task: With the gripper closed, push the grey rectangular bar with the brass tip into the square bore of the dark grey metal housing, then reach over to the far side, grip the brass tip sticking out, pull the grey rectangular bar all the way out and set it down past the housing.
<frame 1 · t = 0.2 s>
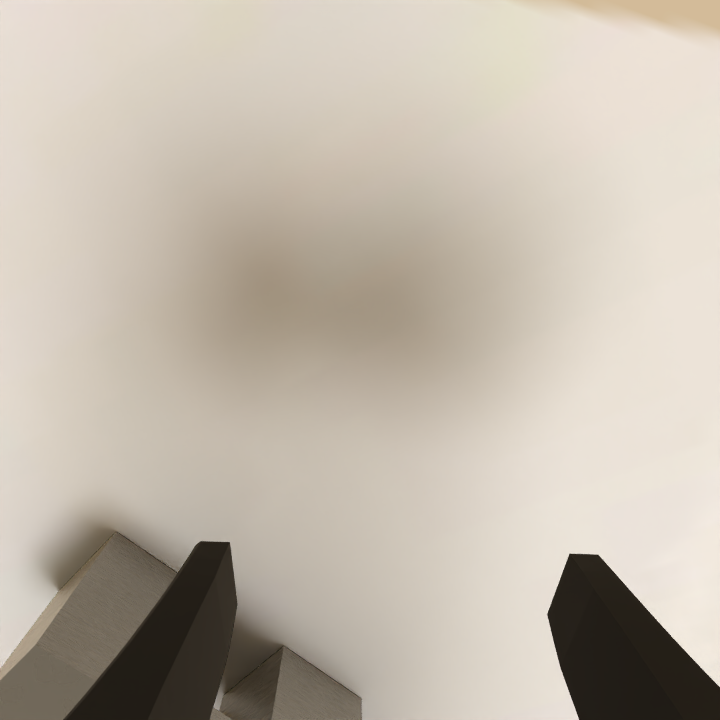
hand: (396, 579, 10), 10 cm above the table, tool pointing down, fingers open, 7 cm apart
housing: (217, 648, 25), on the table
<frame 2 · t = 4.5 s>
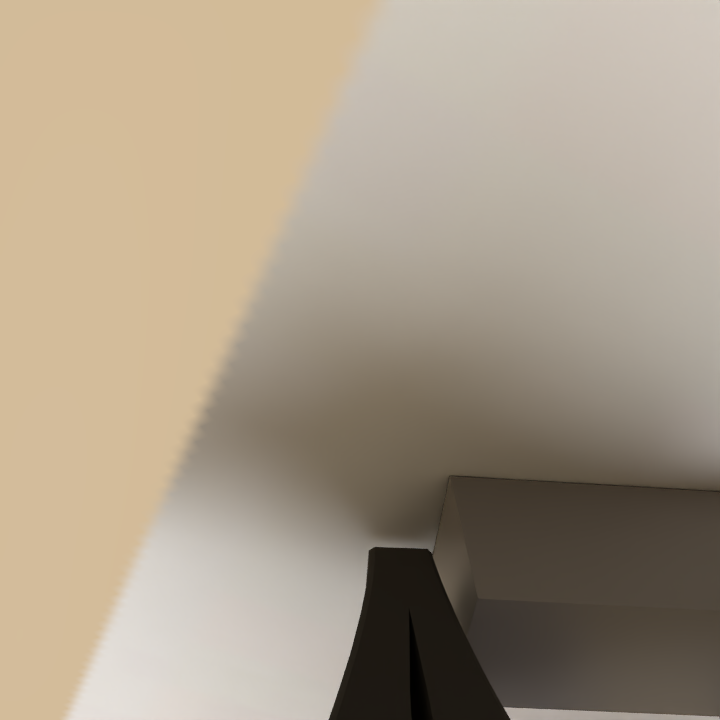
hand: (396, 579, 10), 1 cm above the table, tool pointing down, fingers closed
grey rectangular bar: (661, 541, 12), on the table, touching gripper
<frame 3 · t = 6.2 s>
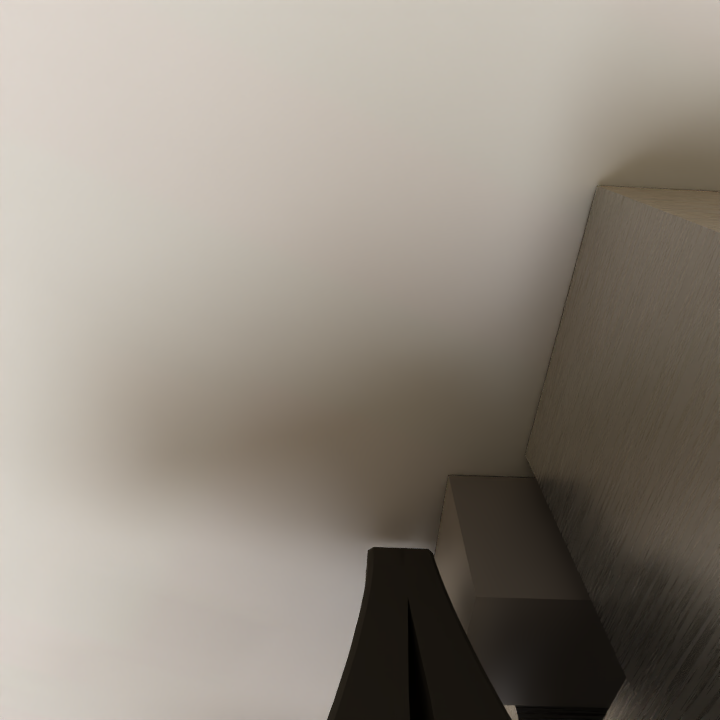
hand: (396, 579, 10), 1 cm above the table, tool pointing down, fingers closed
housing: (606, 535, 12), on the table
grey rectangular bar: (664, 536, 12), on the table, touching gripper
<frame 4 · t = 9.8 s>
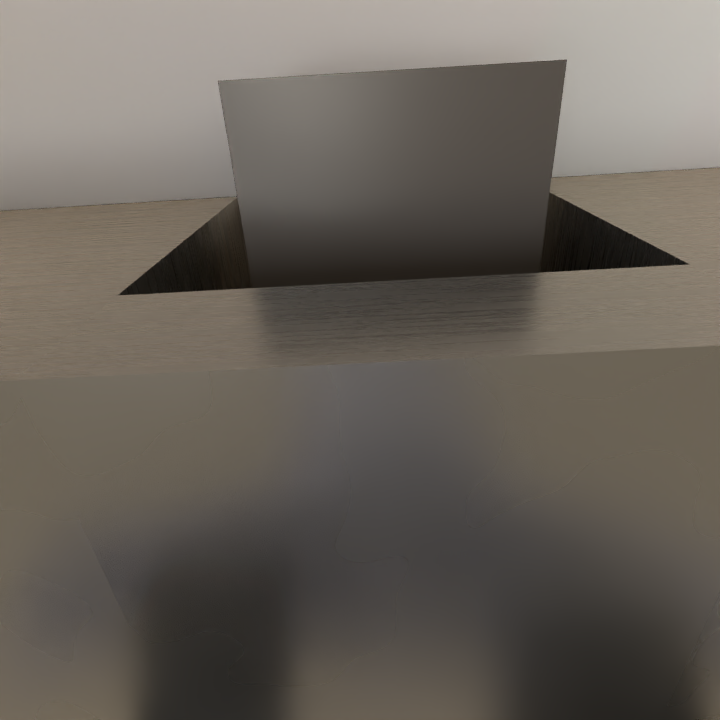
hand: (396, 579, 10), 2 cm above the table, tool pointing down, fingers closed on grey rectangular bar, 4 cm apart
housing: (385, 324, 9), on the table
grey rectangular bar: (388, 386, 10), on the table, touching gripper
when the fingers open (8 cm above the table, at t = 12.5 s): grey rectangular bar drops 3 cm, on the table.
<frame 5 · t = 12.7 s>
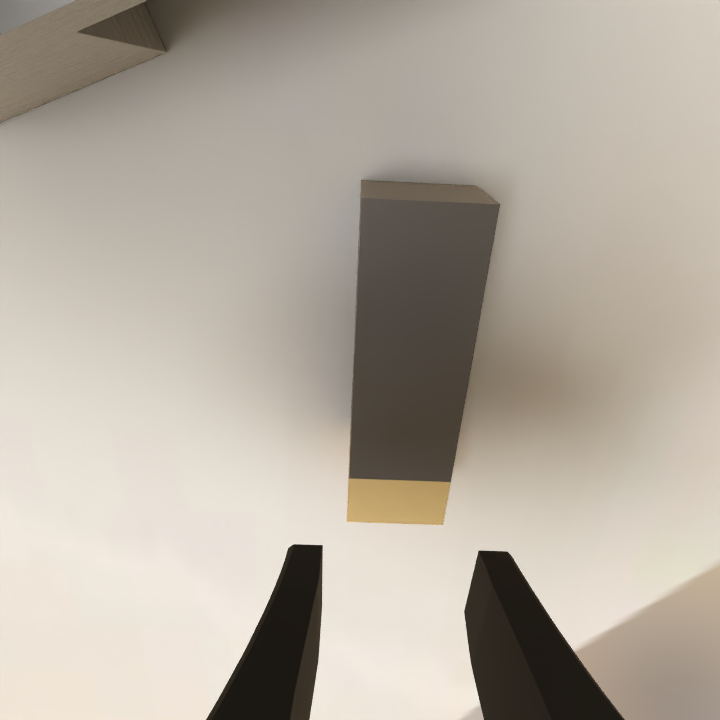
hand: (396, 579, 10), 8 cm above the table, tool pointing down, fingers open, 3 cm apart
grey rectangular bar: (402, 346, 17), on the table
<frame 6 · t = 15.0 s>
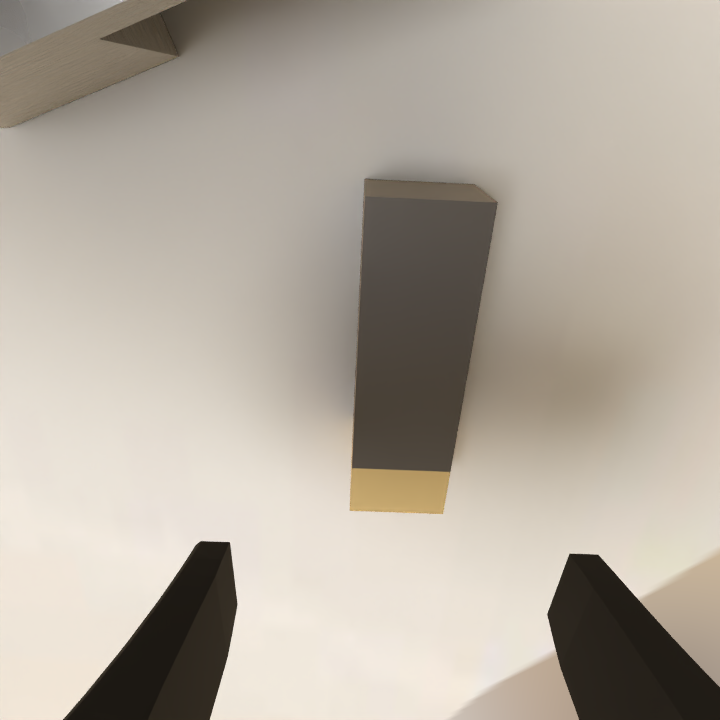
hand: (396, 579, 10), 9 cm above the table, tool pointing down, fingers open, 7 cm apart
grey rectangular bar: (403, 340, 18), on the table
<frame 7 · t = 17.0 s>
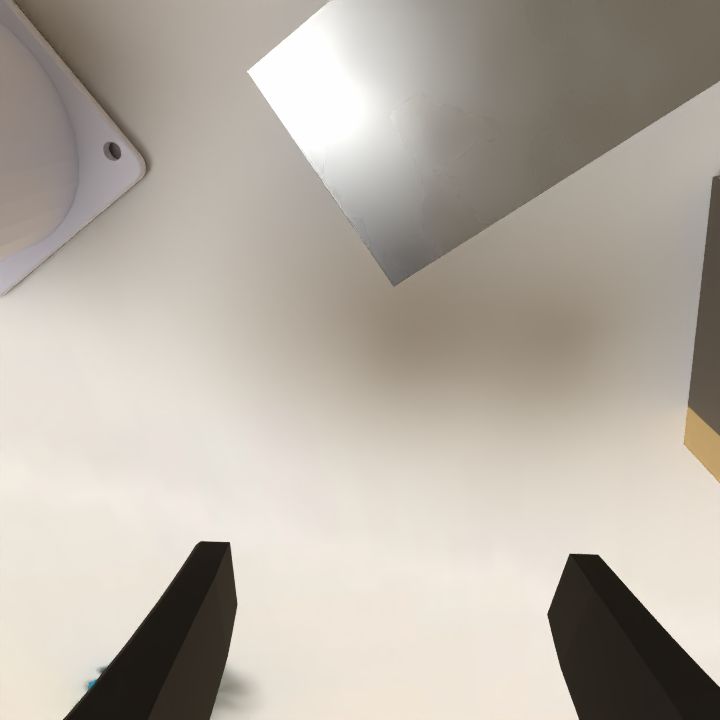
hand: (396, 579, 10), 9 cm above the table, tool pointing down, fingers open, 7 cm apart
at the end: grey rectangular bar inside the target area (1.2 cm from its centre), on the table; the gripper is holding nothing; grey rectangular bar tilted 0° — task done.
